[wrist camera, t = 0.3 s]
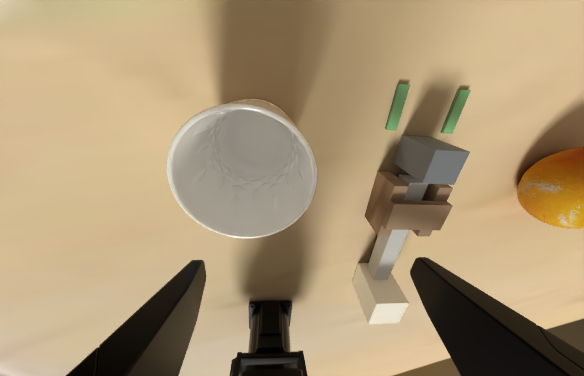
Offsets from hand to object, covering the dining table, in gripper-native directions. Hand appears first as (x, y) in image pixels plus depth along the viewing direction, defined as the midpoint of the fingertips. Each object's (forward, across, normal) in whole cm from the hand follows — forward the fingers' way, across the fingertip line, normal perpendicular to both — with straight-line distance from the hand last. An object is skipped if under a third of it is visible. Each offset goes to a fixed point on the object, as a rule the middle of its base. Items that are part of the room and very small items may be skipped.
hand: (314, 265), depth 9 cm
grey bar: (+14, -13, +10) cm, 22 cm away
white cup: (+14, +3, -2) cm, 15 cm away
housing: (+14, -13, 0) cm, 19 cm away
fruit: (+14, -30, +1) cm, 33 cm away
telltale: (+14, -13, -1) cm, 19 cm away
